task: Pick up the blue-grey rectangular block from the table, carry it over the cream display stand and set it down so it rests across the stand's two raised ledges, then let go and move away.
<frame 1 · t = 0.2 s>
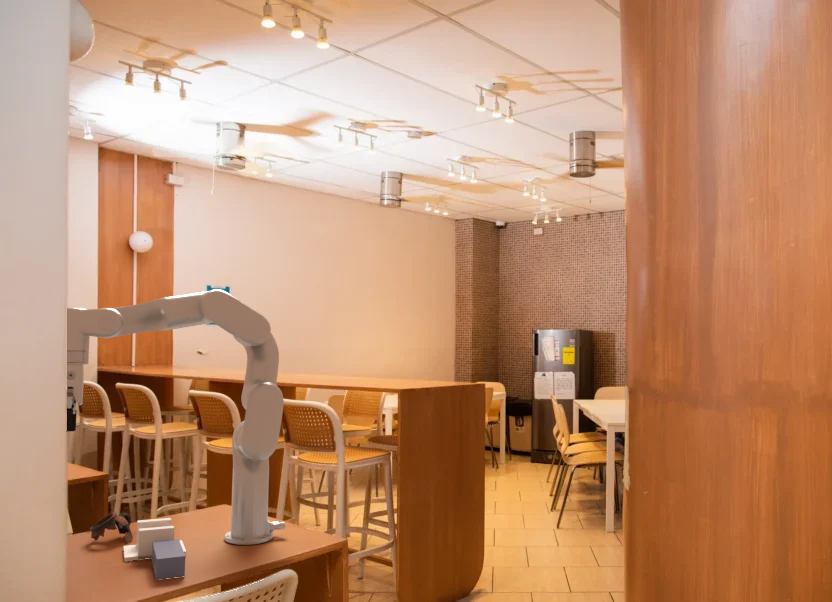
hand: (68, 428, 170), 31 cm above the table, tool pointing down, fingers open, 9 cm apart
display stand: (154, 552, 173), on the table
blue-grey rectangular block: (167, 570, 161), on the table
pottery mug: (114, 541, 183), on the table
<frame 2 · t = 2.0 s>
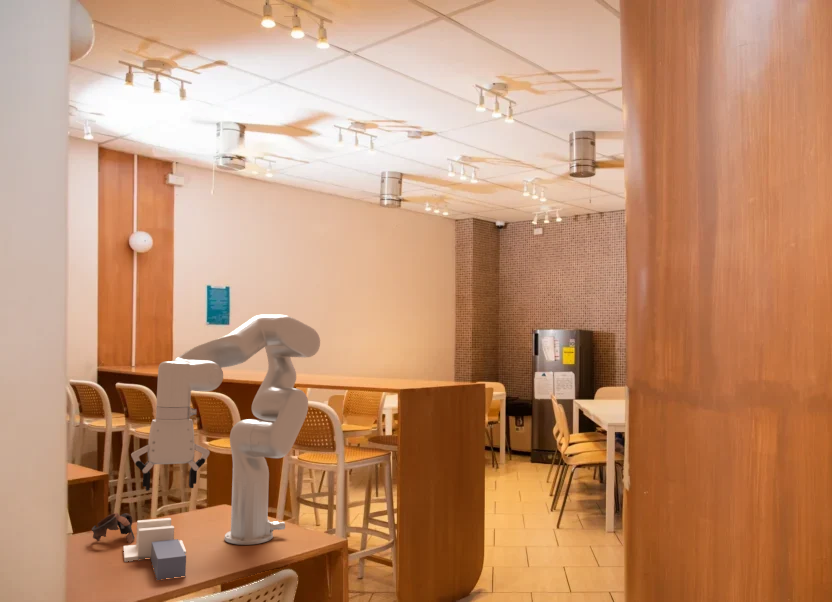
hand: (169, 488, 162), 19 cm above the table, tool pointing down, fingers open, 9 cm apart
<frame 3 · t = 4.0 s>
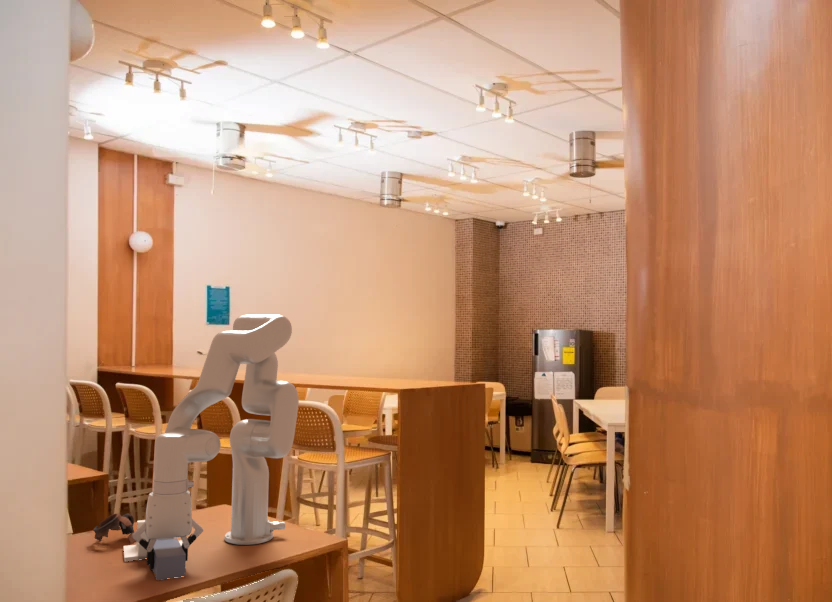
hand: (167, 565, 161), 1 cm above the table, tool pointing down, fingers closed on blue-grey rectangular block, 6 cm apart
blue-grey rectangular block: (166, 569, 161), on the table, touching gripper
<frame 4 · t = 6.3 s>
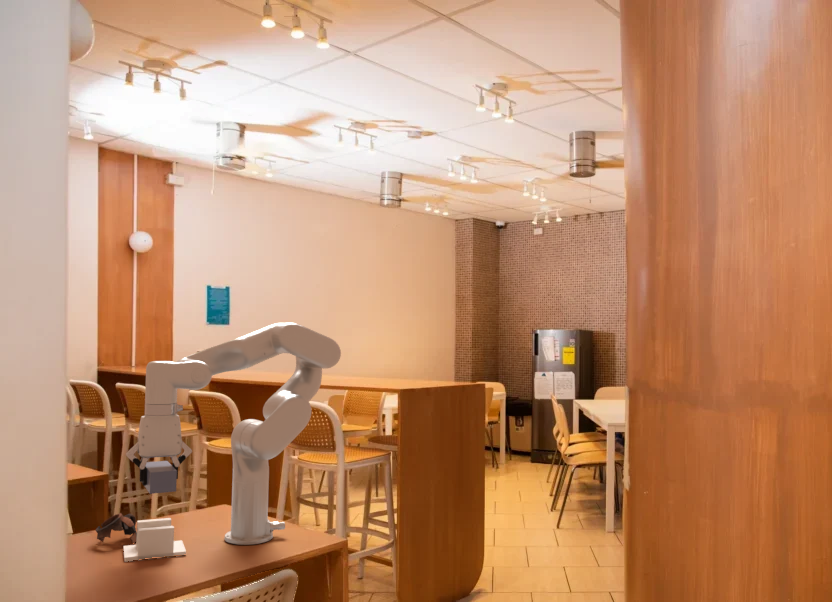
hand: (158, 482, 173), 17 cm above the table, tool pointing down, fingers closed on blue-grey rectangular block, 6 cm apart
blue-grey rectangular block: (158, 486, 173), point 16 cm above the table, touching gripper
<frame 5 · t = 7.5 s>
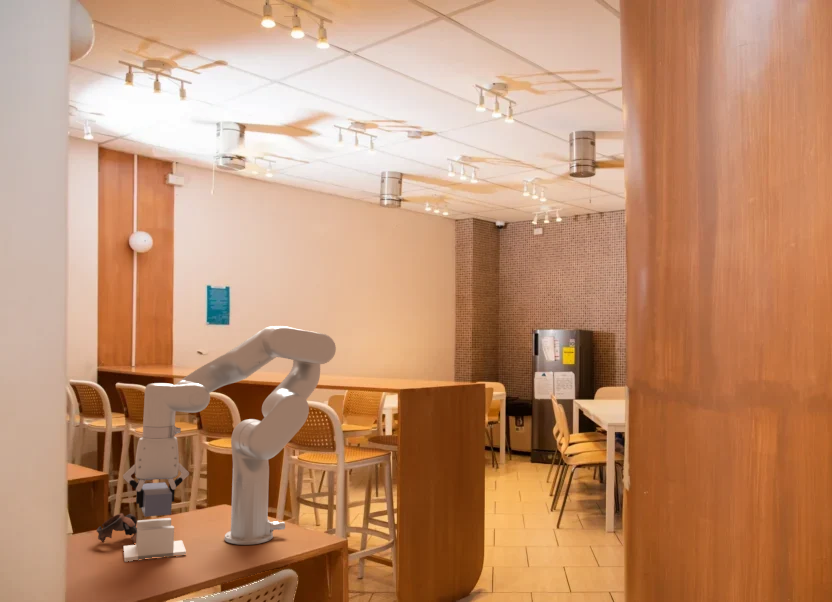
hand: (155, 505, 174), 12 cm above the table, tool pointing down, fingers closed on blue-grey rectangular block, 6 cm apart
blue-grey rectangular block: (154, 508, 174), point 11 cm above the table, touching gripper
when the fingers open (9 cm above the table, at t = 8.5 s): blue-grey rectangular block drops 1 cm, resting on display stand.
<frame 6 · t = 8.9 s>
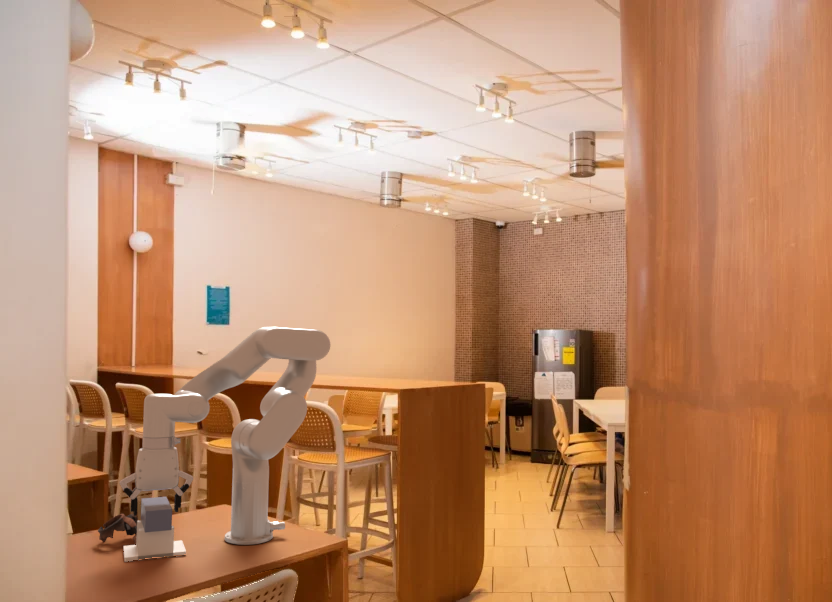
hand: (155, 512, 174), 10 cm above the table, tool pointing down, fingers open, 9 cm apart
blue-grey rectangular block: (155, 523, 174), point 7 cm above the table, touching display stand
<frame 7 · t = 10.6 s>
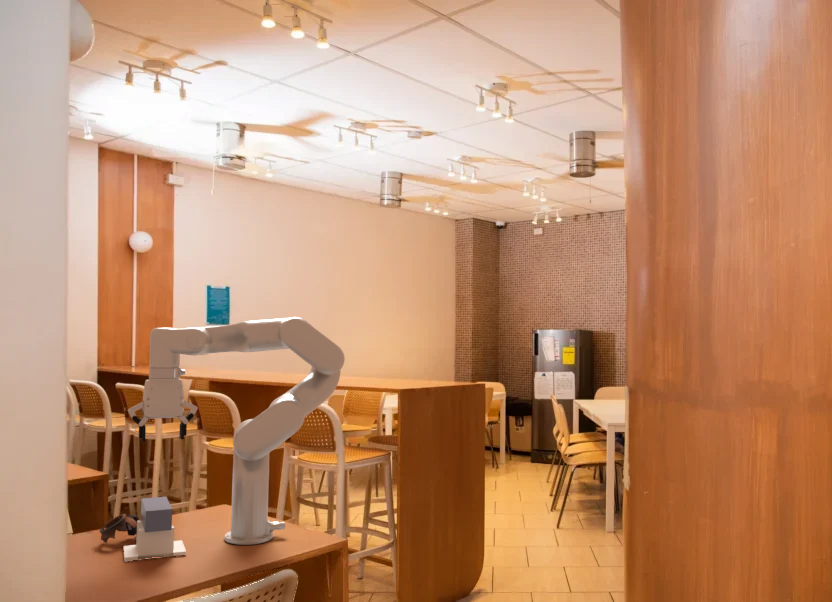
hand: (162, 439, 183), 27 cm above the table, tool pointing down, fingers open, 9 cm apart
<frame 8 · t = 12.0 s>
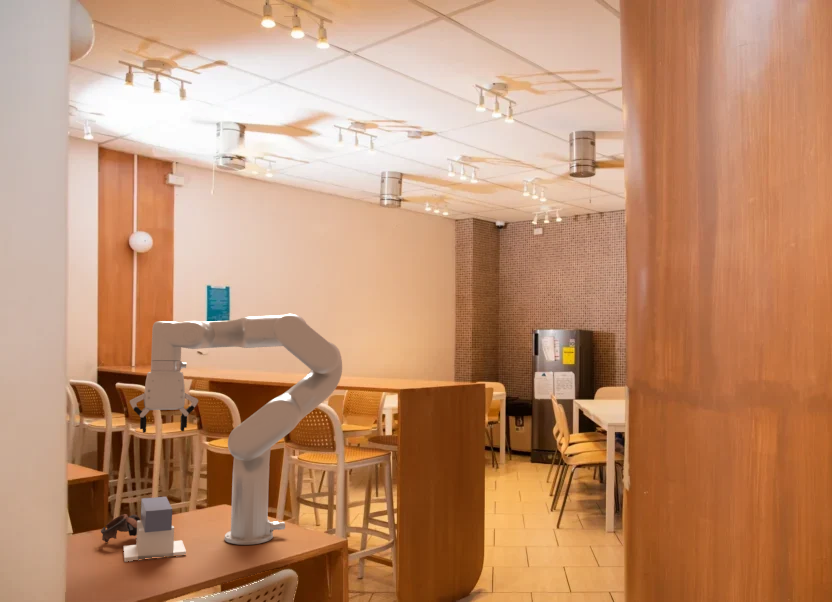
hand: (163, 431, 186), 28 cm above the table, tool pointing down, fingers open, 9 cm apart
at the end: blue-grey rectangular block 0.1 cm off-centre on the display stand, point 7.0 cm above the display stand's base; blue-grey rectangular block tilted 0°; the gripper is holding nothing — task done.
